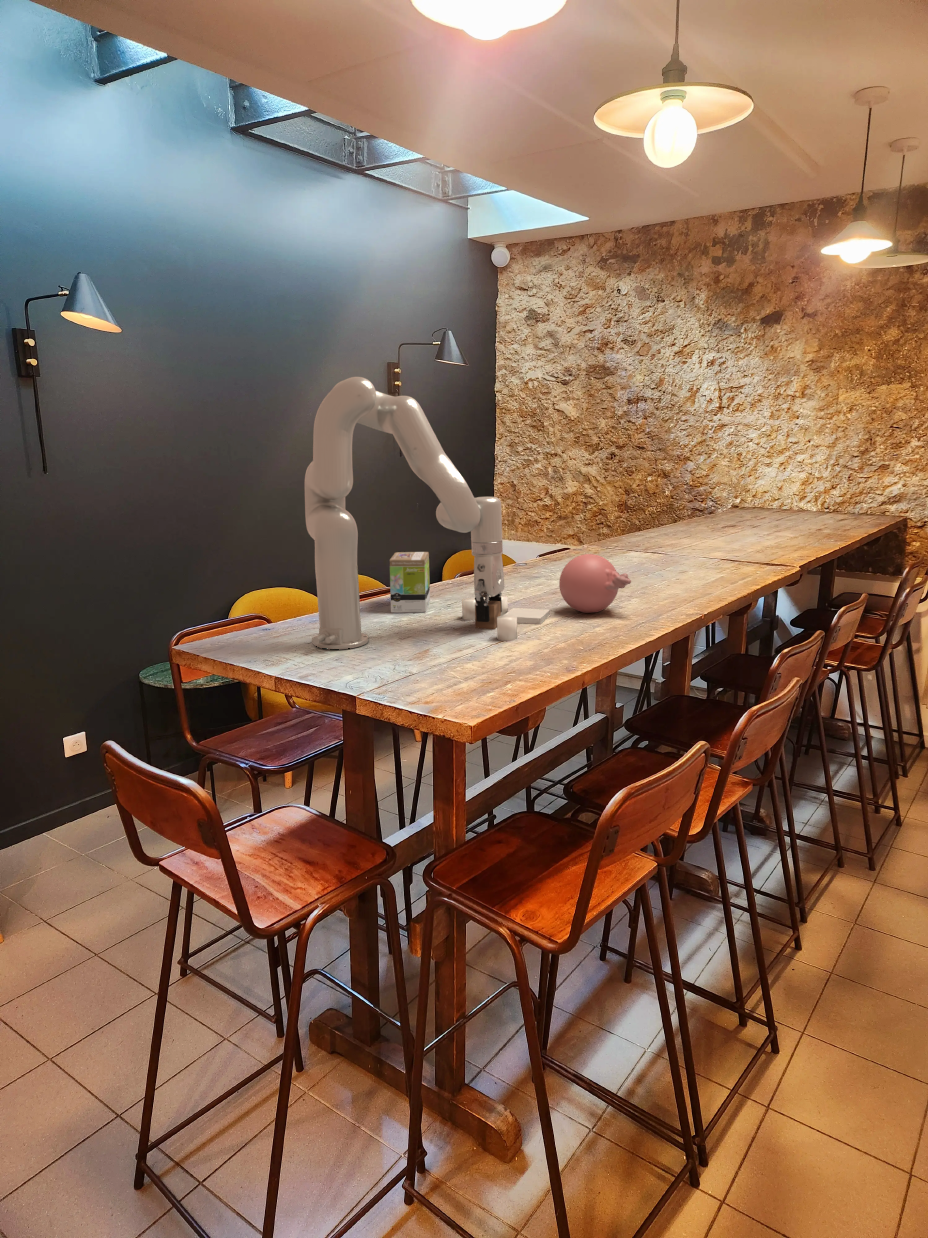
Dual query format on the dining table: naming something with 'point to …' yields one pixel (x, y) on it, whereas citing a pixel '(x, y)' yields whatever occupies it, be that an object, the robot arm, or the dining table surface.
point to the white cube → (468, 609)
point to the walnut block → (493, 613)
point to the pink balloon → (590, 583)
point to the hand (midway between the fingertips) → (489, 616)
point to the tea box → (409, 582)
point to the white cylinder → (504, 604)
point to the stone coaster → (529, 615)
